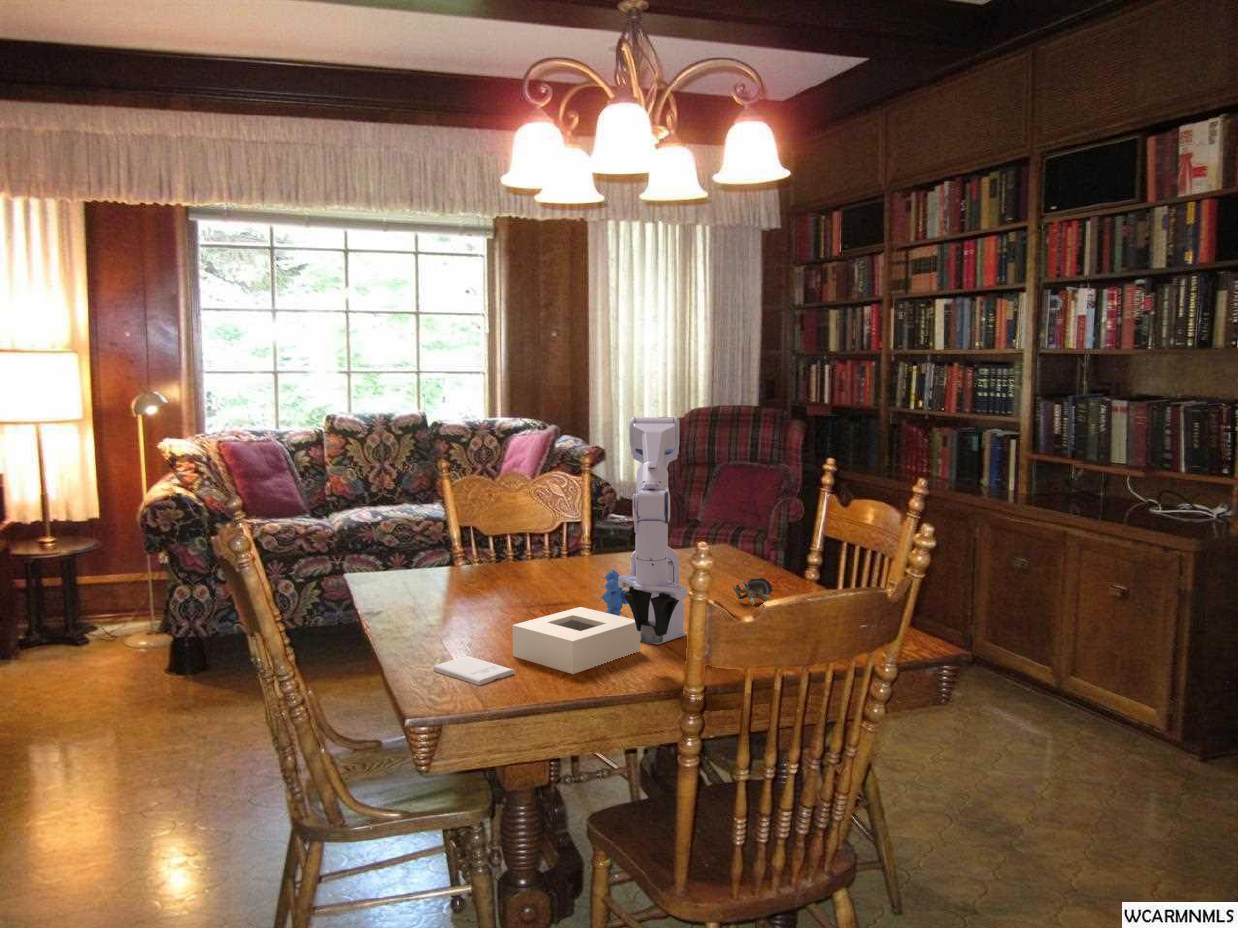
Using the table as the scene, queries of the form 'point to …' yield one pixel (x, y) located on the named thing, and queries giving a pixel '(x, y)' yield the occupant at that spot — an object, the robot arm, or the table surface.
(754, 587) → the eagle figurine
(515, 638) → the box
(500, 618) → the table surface
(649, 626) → the dark grey rounded piece
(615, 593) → the grapes
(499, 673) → the external hard drive
